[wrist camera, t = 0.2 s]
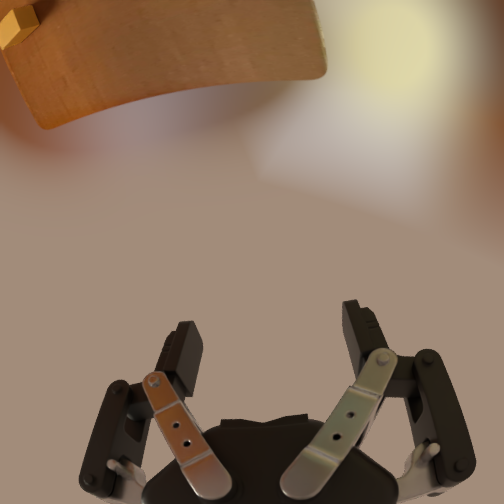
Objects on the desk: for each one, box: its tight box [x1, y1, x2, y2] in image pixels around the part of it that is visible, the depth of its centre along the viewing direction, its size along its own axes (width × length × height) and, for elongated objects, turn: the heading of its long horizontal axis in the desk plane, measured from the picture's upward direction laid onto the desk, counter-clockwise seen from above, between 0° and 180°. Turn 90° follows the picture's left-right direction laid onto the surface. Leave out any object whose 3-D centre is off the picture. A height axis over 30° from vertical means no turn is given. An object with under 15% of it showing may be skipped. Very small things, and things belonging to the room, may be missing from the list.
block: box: [0, 5, 40, 50], centre depth 16 cm, size 5×5×5 cm
